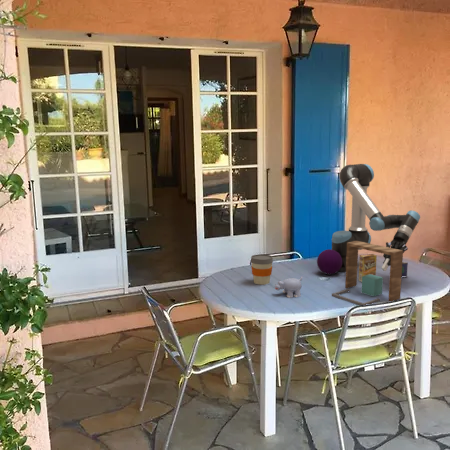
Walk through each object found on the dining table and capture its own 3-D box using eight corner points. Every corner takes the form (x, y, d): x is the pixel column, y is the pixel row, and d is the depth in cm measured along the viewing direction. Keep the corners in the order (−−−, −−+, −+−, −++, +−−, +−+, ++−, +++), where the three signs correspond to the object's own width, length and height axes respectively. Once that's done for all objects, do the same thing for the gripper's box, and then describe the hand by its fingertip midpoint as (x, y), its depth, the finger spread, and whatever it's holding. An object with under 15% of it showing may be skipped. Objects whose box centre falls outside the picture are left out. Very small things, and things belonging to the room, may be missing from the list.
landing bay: (331, 295, 258) (331, 293, 258) (347, 290, 266) (347, 288, 266) (363, 306, 242) (363, 304, 242) (380, 300, 250) (380, 298, 250)
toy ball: (342, 271, 303) (343, 247, 300) (341, 278, 289) (342, 253, 286) (317, 269, 307) (318, 246, 304) (315, 276, 292) (316, 252, 289)
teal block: (361, 292, 263) (362, 276, 261) (369, 290, 267) (370, 274, 265) (373, 296, 257) (374, 279, 255) (382, 293, 261) (382, 277, 259)
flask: (406, 276, 291) (407, 258, 289) (407, 277, 288) (408, 260, 286) (390, 276, 292) (391, 258, 290) (391, 277, 289) (392, 260, 287)
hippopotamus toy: (272, 292, 265) (272, 275, 264) (299, 290, 268) (299, 273, 266) (277, 298, 255) (278, 281, 253) (305, 296, 257) (306, 279, 255)
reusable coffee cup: (271, 286, 275) (271, 260, 272) (249, 284, 277) (249, 259, 275) (273, 279, 287) (274, 254, 284) (252, 278, 289) (252, 253, 287)
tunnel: (345, 287, 271) (346, 242, 266) (354, 285, 276) (356, 240, 271) (390, 301, 248) (393, 252, 243) (400, 298, 253) (403, 250, 248)
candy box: (362, 282, 280) (363, 256, 277) (358, 280, 284) (359, 254, 281) (375, 281, 282) (377, 255, 280) (371, 279, 286) (372, 253, 284)
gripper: (389, 229, 275) (370, 263, 268) (410, 232, 265) (391, 267, 258) (395, 237, 279) (376, 271, 272) (416, 240, 269) (396, 275, 262)
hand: (383, 269), depth 265 cm, fingers closed
